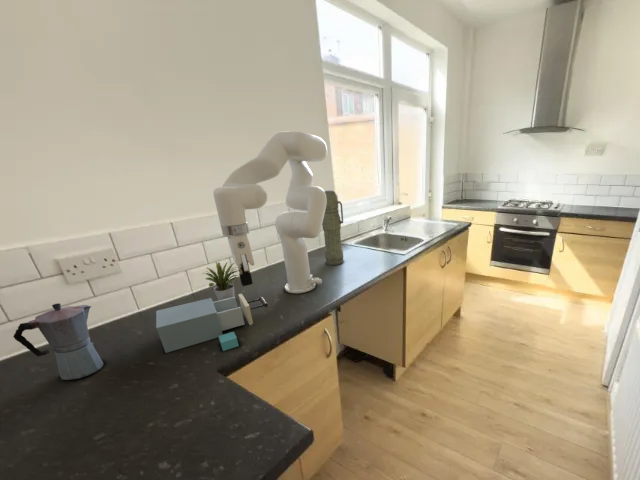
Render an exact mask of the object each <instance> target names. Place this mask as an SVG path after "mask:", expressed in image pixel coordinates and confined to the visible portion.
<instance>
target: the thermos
mask: <svg viewBox="0 0 640 480" xmlns="http://www.w3.org/2000/svg"><path fill="white" fill-rule="evenodd" d="M324 192H325V194H326V199H327V204H326V210H325V214H324V218H323V223H322V227H321V228H322V230H323V238H324V245H325V247H324V248H325V251H324V257H325V260H326V261H325V263H326V265H327V266H339V265H341V264H343V263H344V251H343V248H342V239H341V228H342V224H344V213H343V212H344V211H343V210H344V209H343V203H342V202H341V200H338V196H337V194H336V193H337V192H336V191H334V190H324ZM338 204H339V205H340V214H339V210H338V209H339V205H338Z"/></svg>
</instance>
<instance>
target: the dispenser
mask: <svg viewBox="0 0 640 480" xmlns="http://www.w3.org/2000/svg"><path fill="white" fill-rule="evenodd" d="M213 302H214V301H213V298H212V297H209V298H204V299H199V300H196V301H192V302H187V303H183V304H179V305H174V306H171V307H166V308H162V309H158V310H156V312H155V324H156V325H155V329H156V331H157V334H158V336H159V339H160V342H161V344H162V347H163V350H164V353H165V354H167V353H170V352H174V351H177V350H180V349H184V348H187V347H190V346H194V345H197V344H200V343H205V342H207V341H211V340H214V339H217V338H218V339H219V336H220V335H224V334H223V331H222V330H221V326H220V323H219V319H218V316H217V312H216V309H215V307H214V304H213Z"/></svg>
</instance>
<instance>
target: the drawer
mask: <svg viewBox="0 0 640 480" xmlns="http://www.w3.org/2000/svg"><path fill="white" fill-rule="evenodd" d="M238 299H239V303H240V306H238V303H237V298H236V297H235V296H234V297H231V298H227V299H223V300H215V301H213V304H214V307H215V309H216V312H217V316H218V319H219V323H220V326H221V330H222V332H223V331H226V330H231V329H234V328H237V327H240V326H244V325H245V319H246V321H247V323H248V324H249V326H251V325H253V324H254V321H253V315H252V313H251V310H255V309H258V308H262V307H264V308H267V307H268V306H269V304H268V302H267V301H266V299H265V298H264V297H263V296H259V297H258V298H255V299H252V300H246V297H244V295H243V293H239V294H238ZM259 301H260V303H261V304H259V305H255V306H250V304H252V303H255V302H259ZM244 318H245V319H244Z"/></svg>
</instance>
